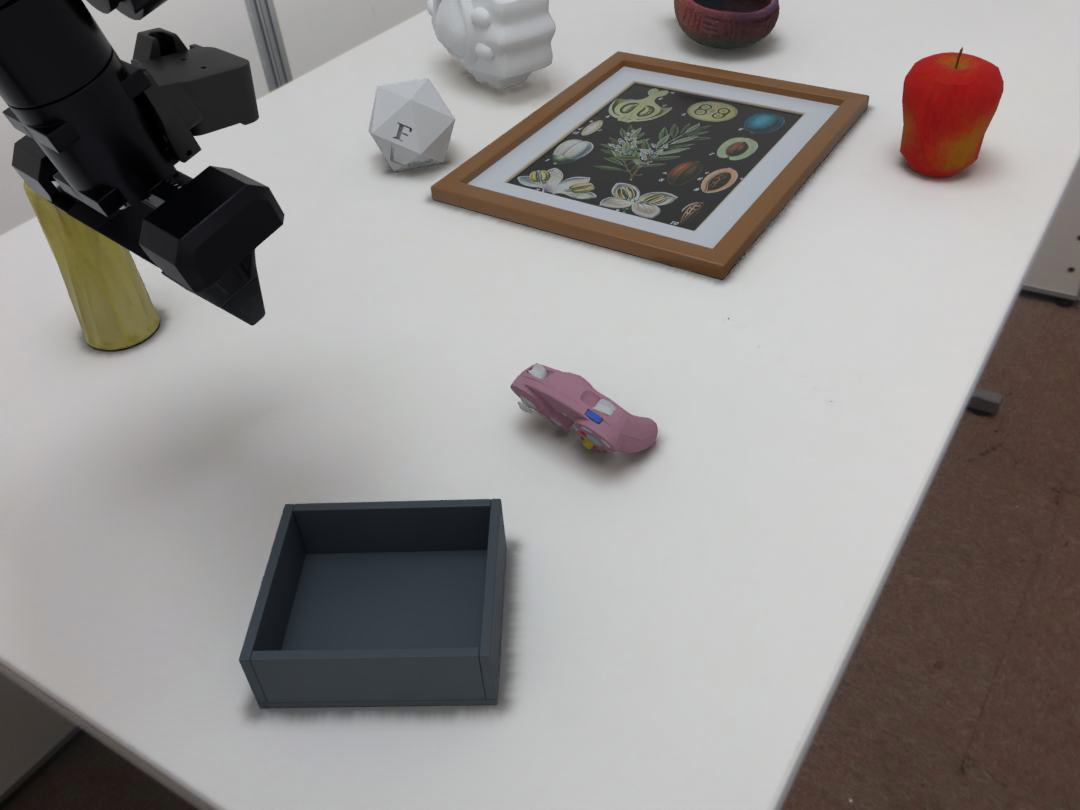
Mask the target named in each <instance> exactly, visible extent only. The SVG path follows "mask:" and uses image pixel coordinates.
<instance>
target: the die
mask: <svg viewBox="0 0 1080 810" xmlns="http://www.w3.org/2000/svg"><path fill="white" fill-rule="evenodd" d="M455 123H456V118H455V116H454V114H453V113H452V111H451V110H450V109H449V107H448V105H447V104H446V102H445V100H444V99H443V98H442V96H441V94H440V93H439V91H438V90H437V88H436V87H435V85H434V84H433V82H432V80H431V79H430V78H429V77H425V78H419V79H414V80H412V79H411V80H407V81H406V80H405V81H401V82H395V83H388V84H382V85H377V86H376V91H375V96H374V102H373V105H372V110H371V115H370V121H369V126H368V130H367V131H368V133H369V134H370V136H371V137H372V139H373V141H374V142H375V144H376V145H377V147H378V149H379V151H380V152H381V153H382V155H383V157H384V158H385V160H386V161H387V163H388V164H389V167H390V168H391V169H392V172H394V173H395V172H401V171H405V170H411V169H418V168H422V167H423V168H424V167H428V166H435V165H439V164H444V163H445V160H446V157H447V154H448V153H447V152H448V148H449V145H450V143H451V138H452V134H453V130H454V128H455V127H454V126H455Z"/></svg>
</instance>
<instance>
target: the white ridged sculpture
mask: <svg viewBox="0 0 1080 810" xmlns="http://www.w3.org/2000/svg"><path fill="white" fill-rule="evenodd" d="M549 7H550V0H427V2H426V11H427V13H428V15H430V16H431V25H432V29H433V31H434V35H435V37H436V39H437V41H438V42H439V43H440V44H441V45H442V46H443V48H445V49H446V51H447V52H448V53H449V55H451V57H452V58H453V59H454V60H455V61H457V62H458V64H460V66H462V67H463V68H464V69H465V70H466V71H467V72H468V73H470V74H471V75H472V76H473V78H474V79H475V80H476V81H477V83H479V84H480V85H485V84H489V85H490V86H491V87H493V88H495V89H498V90H499V89H501V90H503V89H506V88H509V87H513V86H516V85H519V84H522V83H524V82H526V81H527V79H528V78H529V77H530V76H531V74H532V73H533V72H537V71H539V70H542V69H544V68H548V67H550V66H551V65H552V64H553V57H554V55H553V49H552V40H553V38H554V36H555V34H556V30H557V26H556V23H555V20H554V19H553V17H552V15H551V13H550V9H549Z"/></svg>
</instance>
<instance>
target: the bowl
mask: <svg viewBox="0 0 1080 810" xmlns="http://www.w3.org/2000/svg"><path fill="white" fill-rule="evenodd" d="M673 9H674V15H675V19H676V21H677V23H678V26H679V27H680V29H681V31H682V32H683V33H684V34H685V36H686V37H688V38H689V39H690V40H691V41H693V42H694V43H696V44H698V45H701V46H703V47H707V48H712V49H716V50H717V49H718V50H727V51H728V50H729V51H730V50H735V49H740V48H741V49H742V48H746V47H749V46H751V45H755V44H756V43H758V42H761V40H764V39H765V38H766V37H767V36H769V35H770V34H771V33H772V31H773V30H774V28H775V27H776V24H777V22H778V19H779V16H780V9H781V8H780V0H673Z"/></svg>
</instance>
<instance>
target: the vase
mask: <svg viewBox="0 0 1080 810" xmlns="http://www.w3.org/2000/svg"><path fill="white" fill-rule="evenodd" d="M22 186H23V190H24V192H25V194H26V197H27V199H28V201H29V203H30V206H31V208H32V211H33V212H34V215H35V216H36V218H37V221H38V223H39V225H40V228H41V230H42V233H43V234H44V236H45V239H46V241H47V243H48V246H49V248H50V250H51V252H52V255H53V257H54V259H55V261H56V263H57V266H58V269H59V272H60V274H61V278H62V280H63V282H64V285H65V288H66V291H67V293H68V297H69V299H70V302H71V304H72V307H73V309H74V310H73V311H74V312H75V315H76V317H77V321H78V323H79V325H80V328H81V331H82V334H83V337H84V340H85V342H86V344H88V345H89V346H90V347H92V348H94V349H98V350H103V351H116V350H123V349H128V348H132V347H133V346H136V345H138V344H140V343H142V342H144V341H145V340H146V339H149V337H151V336H152V335H153V334H154V333H155V332H156V330H157V329H158V327H159V325H160V321H161V319H160V315H159V312H158V311H157V309H156V308H155V306H154V304H153V302H152V299H151V297H150V294H149V292H148V289H147V287H146V284H145V282H144V280H143V278H142V275H141V273H140V271H139V269H138V267H137V265H136V263H135V261H134V257H133V255H132V254H131V251H129V250H128V249H126V248H124V247H123V246H121V245H119V244H117V243H116V242H114V241H112V240H111V239H109V238H107V237H106V236H104V235H102V234H100V233H99V232H97V231H95V230H93V229H92V228H90V227H88V226H87V225H85V224H83V223H81V222H80V221H78V220H76V219H75V218H73V217H71V216H70V215H68V214H66V213H65V212H63V211H62V210H60V209H58V208H57V207H55V206H54V205H52V204H51V203H49V202H48V201H47V199H46V198H44V197H42V196H41V195H39V194H38V193H36V192H34V191H33V190H31V188H30V187H29V186H28V185H27V184H26V182H25V181H24V180H23V185H22Z"/></svg>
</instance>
